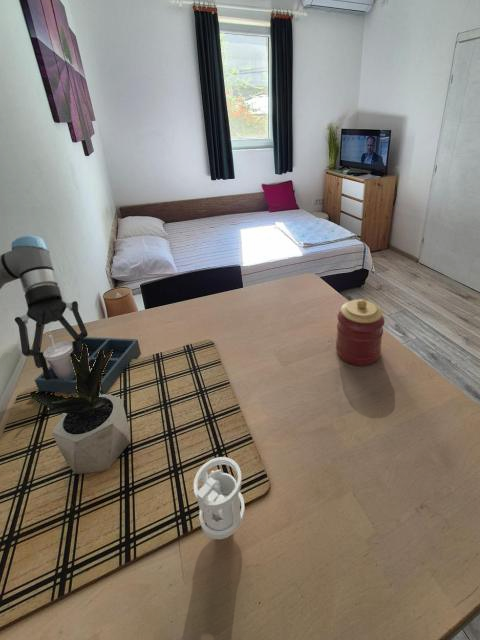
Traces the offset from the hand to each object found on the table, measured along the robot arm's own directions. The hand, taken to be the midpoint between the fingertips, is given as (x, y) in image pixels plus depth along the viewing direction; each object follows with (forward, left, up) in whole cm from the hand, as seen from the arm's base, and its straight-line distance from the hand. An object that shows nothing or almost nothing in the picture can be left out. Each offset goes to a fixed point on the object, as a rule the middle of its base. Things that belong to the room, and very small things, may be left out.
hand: (64, 372), depth 81 cm
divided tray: (+2, +7, -6) cm, 9 cm away
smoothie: (-2, +3, -5) cm, 6 cm away
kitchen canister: (+75, +21, -7) cm, 78 cm away
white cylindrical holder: (+48, -27, -7) cm, 55 cm away
